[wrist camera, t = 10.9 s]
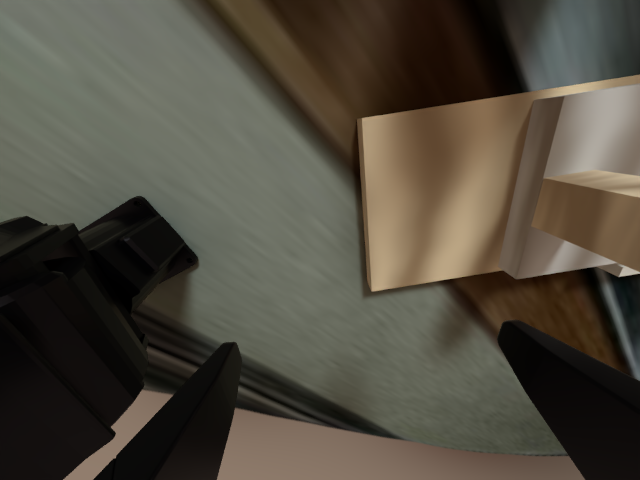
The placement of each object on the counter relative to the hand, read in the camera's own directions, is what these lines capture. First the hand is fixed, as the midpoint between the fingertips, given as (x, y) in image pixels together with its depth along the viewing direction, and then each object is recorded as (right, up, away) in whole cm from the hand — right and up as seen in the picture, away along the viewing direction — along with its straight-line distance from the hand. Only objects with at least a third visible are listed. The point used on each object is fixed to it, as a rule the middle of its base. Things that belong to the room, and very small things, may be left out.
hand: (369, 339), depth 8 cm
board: (+12, +7, +12) cm, 18 cm away
